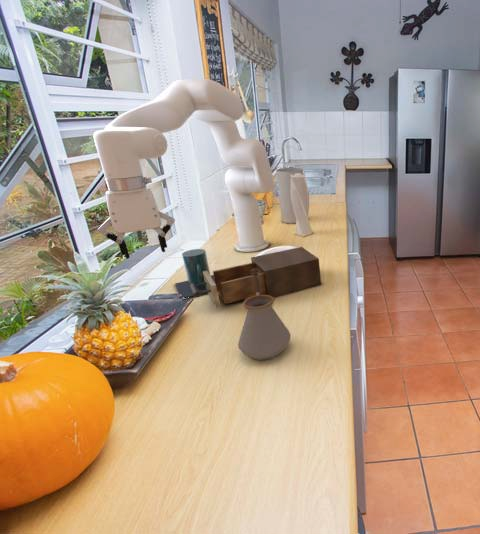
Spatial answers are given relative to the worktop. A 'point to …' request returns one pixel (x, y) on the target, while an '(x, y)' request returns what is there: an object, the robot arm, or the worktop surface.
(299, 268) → the cabinet
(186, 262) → the teal blue cylinder
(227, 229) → the worktop surface
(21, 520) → the worktop surface
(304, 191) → the skyscraper
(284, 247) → the banana
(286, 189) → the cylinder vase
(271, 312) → the turkish coffee pot
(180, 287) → the mat
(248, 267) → the drawer
